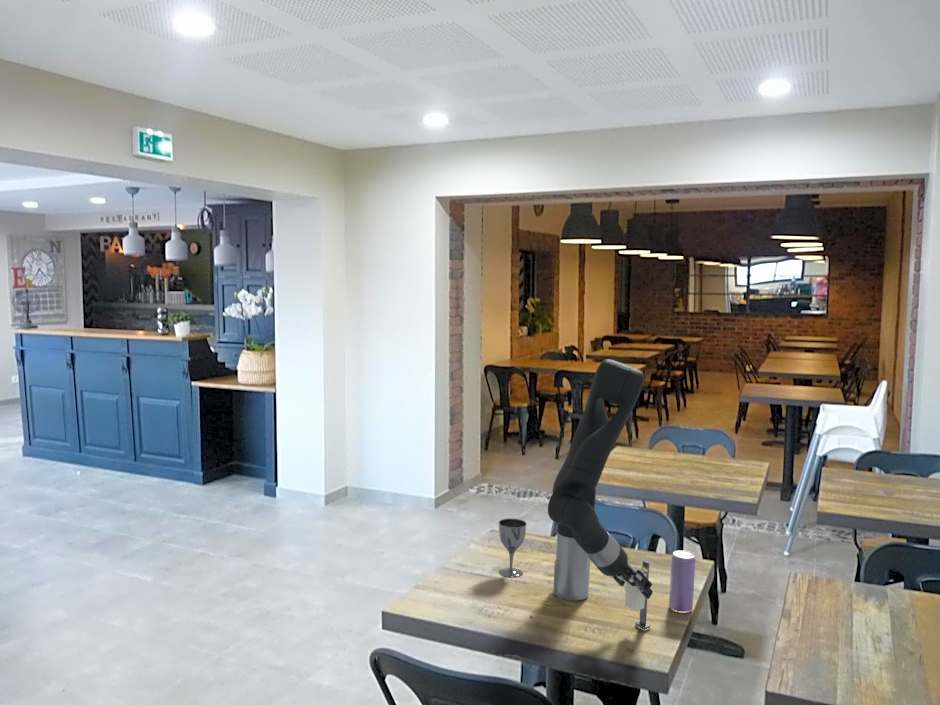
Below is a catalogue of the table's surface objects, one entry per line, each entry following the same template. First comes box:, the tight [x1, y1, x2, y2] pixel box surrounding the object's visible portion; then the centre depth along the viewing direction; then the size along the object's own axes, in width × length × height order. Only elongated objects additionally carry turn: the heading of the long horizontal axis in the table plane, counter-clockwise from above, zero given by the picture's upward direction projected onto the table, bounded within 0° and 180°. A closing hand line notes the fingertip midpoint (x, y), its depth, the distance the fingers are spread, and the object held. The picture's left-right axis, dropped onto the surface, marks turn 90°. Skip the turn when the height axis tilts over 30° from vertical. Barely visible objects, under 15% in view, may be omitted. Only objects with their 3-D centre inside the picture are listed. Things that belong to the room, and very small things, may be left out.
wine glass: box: [498, 517, 527, 579], centre depth 219 cm, size 8×8×15 cm
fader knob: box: [624, 566, 647, 612], centre depth 184 cm, size 3×4×9 cm
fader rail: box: [634, 560, 651, 630], centre depth 186 cm, size 2×3×17 cm, turn 34°
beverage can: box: [668, 550, 696, 611], centre depth 198 cm, size 6×6×15 cm
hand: (636, 589), depth 184 cm, fingers open, 8 cm apart
